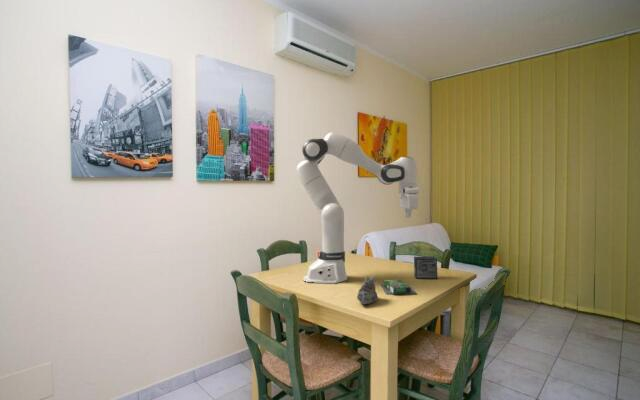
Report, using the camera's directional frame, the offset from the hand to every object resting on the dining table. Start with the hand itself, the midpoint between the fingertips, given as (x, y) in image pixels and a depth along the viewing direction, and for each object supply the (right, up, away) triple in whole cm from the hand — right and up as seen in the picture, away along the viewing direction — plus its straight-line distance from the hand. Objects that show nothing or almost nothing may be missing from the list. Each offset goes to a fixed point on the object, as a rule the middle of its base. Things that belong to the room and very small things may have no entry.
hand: (408, 217), depth 169 cm
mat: (-9, -32, -16) cm, 37 cm away
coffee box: (-9, -30, -25) cm, 40 cm away
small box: (+10, -31, +4) cm, 33 cm away
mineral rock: (-26, -32, -32) cm, 52 cm away
